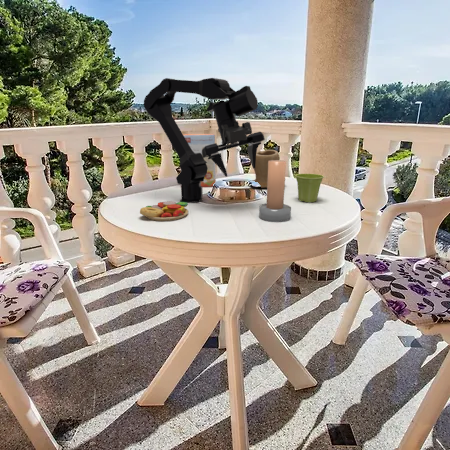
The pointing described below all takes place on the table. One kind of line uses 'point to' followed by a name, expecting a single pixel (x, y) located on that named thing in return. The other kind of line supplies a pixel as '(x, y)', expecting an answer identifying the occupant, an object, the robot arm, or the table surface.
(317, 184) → the plant pot
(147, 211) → the toy food set
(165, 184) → the table surface
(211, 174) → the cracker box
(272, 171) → the candle
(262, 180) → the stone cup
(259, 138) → the robot arm
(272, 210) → the coaster
